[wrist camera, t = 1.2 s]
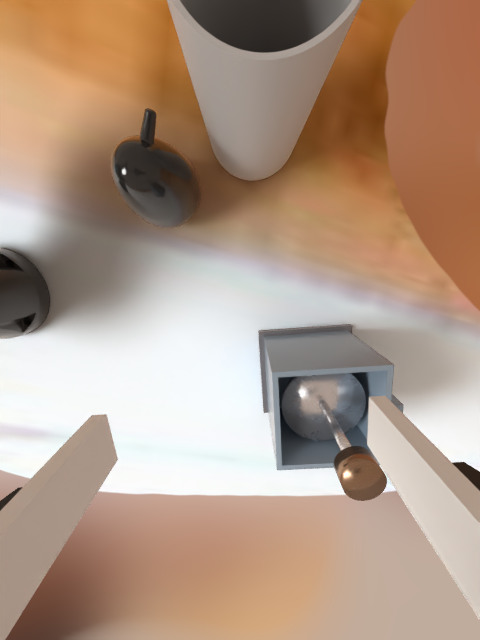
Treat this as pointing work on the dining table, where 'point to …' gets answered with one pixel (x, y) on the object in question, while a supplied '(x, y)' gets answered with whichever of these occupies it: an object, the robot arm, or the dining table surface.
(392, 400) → the grey open bin
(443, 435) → the dining table surface
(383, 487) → the plunger
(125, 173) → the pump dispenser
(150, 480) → the dining table surface
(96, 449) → the robot arm
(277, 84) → the cylinder vase
